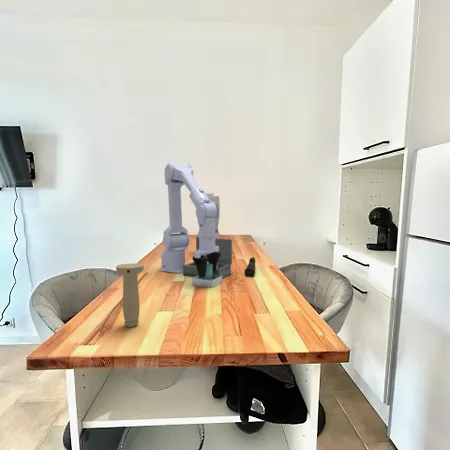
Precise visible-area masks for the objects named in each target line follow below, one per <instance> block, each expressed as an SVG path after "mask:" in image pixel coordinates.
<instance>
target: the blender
mask: <svg viewBox="0 0 450 450" xmlns="http://www.w3.org/2000/svg"><path fill="white" fill-rule="evenodd" d="M205 193H206V195H207V196H208V198H209V200H210V201H212V202H215V203H216V204H217V206H218V209H219V214H218V217H217V218H215V238H219V239H221V236H220V235H221V234H220V232H219V223H220V216H221V215H220V212H221V210H220V209H221V208H220V207H221V206H220V203H221V202H220V196H219V195H214V193H207V192H205ZM196 237H199V231H198V232H197V235H196Z"/></svg>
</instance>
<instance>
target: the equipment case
mask: <svg viewBox="0 0 450 450" xmlns="http://www.w3.org/2000/svg"><path fill="white" fill-rule="evenodd" d="M195 241H196V243H195V244H196V245H195V246H196V247H195V252H196V251H197V250H198V249H199V237H197V236H196V237H195ZM215 246H219V251H218V252H220V253H221V256H220V258H219V260H218V263H217V267H216V271H215V272H213V274H214V275H222V280H223V279H225V278H227V277H228V276H230V275H231V274H232V273H231V271H232V270H231V269H232V265H233V262H232V261H233V239H230V238H220V239H219V238H215ZM204 257H205V258H207V256H206V255H205V256H204ZM207 263H208V262H207ZM182 274H183V275H182V276H186V277H192V278H193V277H196V276H198V275H199V274H198V270H197V267H196V265H195V263H194V261H192V262H189V263H185V265H183V272H182Z"/></svg>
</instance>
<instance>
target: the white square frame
mask: <svg viewBox="0 0 450 450" xmlns="http://www.w3.org/2000/svg"><path fill="white" fill-rule="evenodd" d="M221 283H223V279H222V275H214V274H213V279H211V280H210V279H203V278H201V277H199V275H198V276H196V277H192V278H191V285H192V286H196V287H203V288H210V289H213V288H215V287H216V286H218V285H220V284H221Z"/></svg>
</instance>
